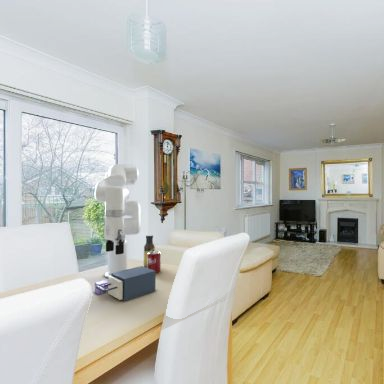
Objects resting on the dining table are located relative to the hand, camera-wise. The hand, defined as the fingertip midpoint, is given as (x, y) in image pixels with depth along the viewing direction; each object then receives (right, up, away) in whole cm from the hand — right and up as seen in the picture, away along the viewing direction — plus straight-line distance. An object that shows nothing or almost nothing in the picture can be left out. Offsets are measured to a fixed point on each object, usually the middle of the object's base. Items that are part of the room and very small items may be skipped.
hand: (114, 252), depth 115 cm
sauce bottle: (-3, -20, +45) cm, 49 cm away
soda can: (+4, -20, +34) cm, 40 cm away
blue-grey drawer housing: (+5, -20, +6) cm, 22 cm away
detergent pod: (-10, -20, +7) cm, 23 cm away
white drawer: (+2, -19, +2) cm, 20 cm away
